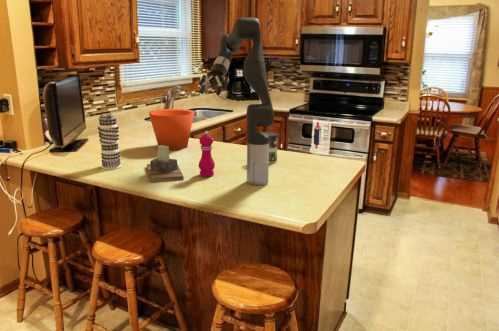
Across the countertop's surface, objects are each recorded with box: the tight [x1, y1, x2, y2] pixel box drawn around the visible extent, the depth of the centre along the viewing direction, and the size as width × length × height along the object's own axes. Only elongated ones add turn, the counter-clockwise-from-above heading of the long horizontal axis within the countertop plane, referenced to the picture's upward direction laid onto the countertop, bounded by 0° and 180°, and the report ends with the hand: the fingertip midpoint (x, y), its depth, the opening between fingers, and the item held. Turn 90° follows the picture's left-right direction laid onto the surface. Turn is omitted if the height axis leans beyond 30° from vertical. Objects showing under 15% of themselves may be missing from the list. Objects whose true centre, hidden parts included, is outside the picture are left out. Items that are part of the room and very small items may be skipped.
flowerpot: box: [148, 108, 195, 151], centre depth 237 cm, size 25×25×20 cm
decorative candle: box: [97, 113, 122, 170], centre depth 196 cm, size 9×9×25 cm
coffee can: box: [259, 131, 279, 165], centre depth 211 cm, size 10×10×14 cm
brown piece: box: [146, 157, 185, 183], centre depth 190 cm, size 14×24×6 cm, turn 17°
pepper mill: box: [198, 130, 216, 178], centre depth 186 cm, size 7×7×20 cm
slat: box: [157, 145, 170, 162], centre depth 189 cm, size 4×2×11 cm, turn 68°
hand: (209, 93), depth 201 cm, fingers open, 8 cm apart
